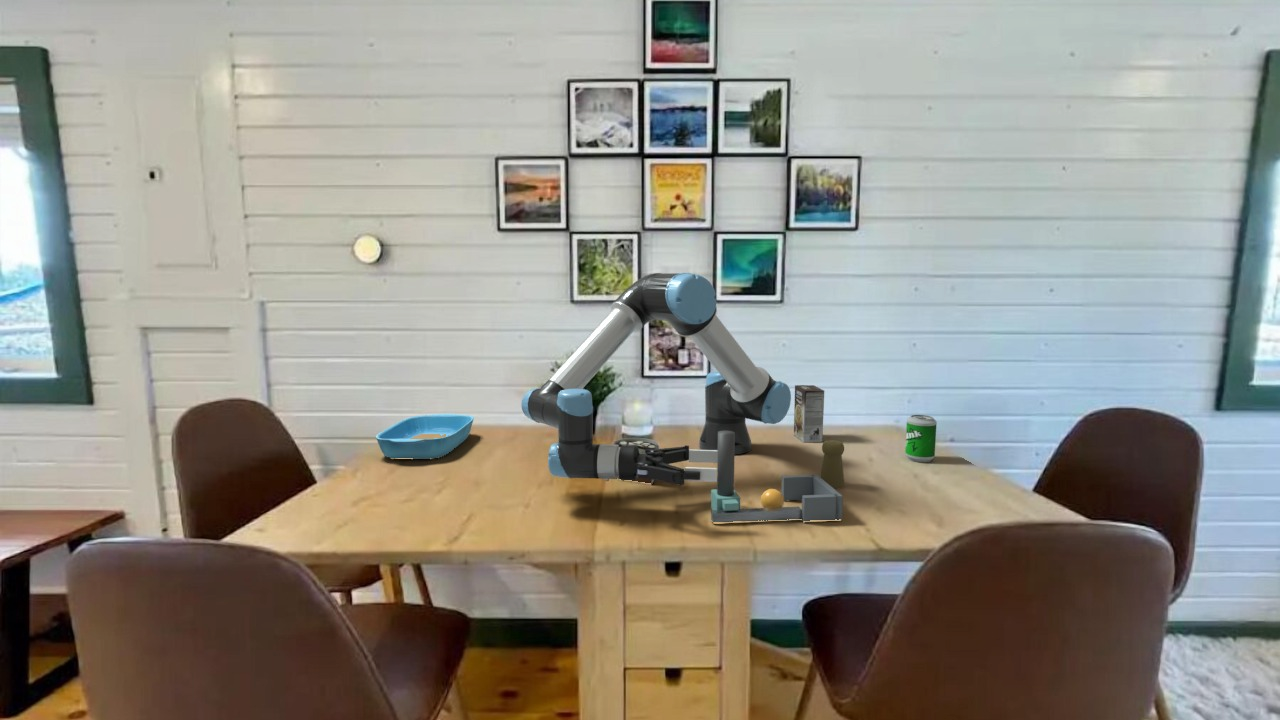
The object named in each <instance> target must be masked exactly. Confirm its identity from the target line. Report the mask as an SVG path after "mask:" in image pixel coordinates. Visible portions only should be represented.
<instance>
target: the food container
mask: <svg viewBox="0 0 1280 720" xmlns="http://www.w3.org/2000/svg"><path fill="white" fill-rule="evenodd" d="M612 445H619V447H621V446H622V445H636V446H637V447H638V449H639V453H640V454H645V450H646V449H660V446H659V444H658V442H657V441H656V440H654V439H650V438H642V437H627V438H620V439H616V440H614V442H613V444H612ZM618 479H620V477H618V478H617V480H618ZM632 481H638V482H645V483H651V484H653V483H654V484H655V480H653V479H648V478H638V477H637V479H636V480H632ZM654 484H653V485H654Z"/></svg>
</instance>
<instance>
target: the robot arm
mask: <svg viewBox="0 0 1280 720" xmlns="http://www.w3.org/2000/svg"><path fill="white" fill-rule="evenodd" d="M717 301H718V300H717V298H716V291H715V288H714V286H713V285H712V283H711V282H710V280H709V279H707V278H705V277H704V276H702V275H700V274H696V273H695V274H694V273H690V272H681V273H676V272H675V273H662V272H654V273H649V274H647V275H645V276H643V277H641V278H639V279H638V280H636V281H635V282H634V283H633V282H632V284H630V285H629V287H627V288H626V289H625V290H624V291H623V292H622V293H621V294H620V295H619V296H618V297H617V298H616V299H615V300H614V301H613V302H612V304H611V305H610V309H611V311H610V312H609V313H608V314H607V315H606V316H605V317H604V319H603V320H602V321H601V322H600V323H599V324H598V325H597V326H596V327H595V329H594V330H593V331H592V332H591V333H590V334H589V335H588V336H587V337H586V338H585V339H584V340H583V341H582V343H581V344H580V345H579V346H578V347H577V348H576V349H575V350H574V351H573V352H572V354H571V355H570V356H569V357H568V358H567V359H566V360H565V361H564V362H563V363H562V365H560V367H559V368H557V370H556V371H555V372H554V373H553V374H552V375H551V376H550V378H549V379H548V380H547V381H546V382H545V383H543V385H542V386H541V387H540V388H531V389H530V390H527V392H525V394H524V395H523V397H522V399H521V405H520V406H521V411H522V413H523V415H524V416H525V417H527V418H528V419H530V420H531V421H534V422H536V423H539V424H540V423H541V424H543V425H545V426H546V425H547V426H550V427H552V428H555V429H557V430H558V436H557V437H558V442H555V443H552V444H551V445H550V447H549V450H548V458H547V465H548V466H547V467H548V470H549V474H551V476H554V477H558V478H568V479H601V480H604V481H605V482H609V480H618V477H620V479H621V480H636V479H637V477H638V478H648V479H653V480H654V481H659V482H664V483H668V484H673V485H679V486H685V481H686V482H706V483H708V482H709V483H717V467H699V466H698V467H694V466H693V467H692V466H691V467H690V466H685V467H684V468H681V467H678V466H676V465H672V464H675V463H676V464H677V463H680V462H681V463H682V462H685V461H686V462H687V461H688V462H689V463H706V464H707V463H711V464H712V463H713V464H717V461H718V432H719V431H733V432H735V455H742V454H745V453H748V452H750V451H751V450H752V439H751V438H750V437H751V436H750V433H749V430H748V428H747V423H746V419H747V420H751V421H755V422H756V421H757V422H761V423H763V424H765V425H766V424H771V425H772V424H773V425H774V424H779V423H780V422H781V421H783V419H785V418H786V416H787V414H788V412H789V409H790V406H791V400H792V395H791V390H790V387H789V385H788V384H787V383H785V382H783V381H781V380H778V381H777V380H774V379H773V377H772V376H771V375H770V374H769V372H768V371H767V370H766V369H765V368H763V367H761V366H756V365H755V363H754V362H753V361H752V360H751V358H750V356H748V355H747V353H746V351H745V350H744V349H743V348H742V347H741V346H740V344H739V343H738V342H737V340H736V339H735V337H734V336H733V335H732V334H731V333H730V331H729V330H728V328H727V327H726V326H725V325H724V323H723V322H722V321H721V319H719V317H718V316H717V312H718V308H717ZM653 321H663V322H664V321H665V322H667V323H669V324H670V326H671V327H672V328H673V330H675V331H676V333H677V334H679V336H682V337H686V338H687V337H689V338H690V340H691V341H692V342H693V344H694V345H695V346H696V347H697V348H698V349H699V351H700V352H701V353H702V354H703V355H704V357H705V358H706V359H707V360H708V362H710V364H711V365H712V366H713V367H714V369H715V370H716V371H711V372H709V373H708V374H707V375H706V377H705V386H704V388H705V389H704V391H705V393H704V394H705V395H704V399H705V402H704V403H705V406H704V407H705V417H704V419H705V420H704V421H705V422H704V425H703V428H702V431H701V433H700V437H699V440H698V441H699V442H698V443H699V444H698V445H699V446H698V448H699V449H690V446H689V445H684V446H675V447H668V448H667V447H664V448H659V449H646V450H645V454H640V453H639V449H638V447H637V446H636V445H622V446H621V447H619V445H613V444H609V443H607V444H605V443H604V444H603V443H602V444H601V443H600V444H599V443H598V444H596V443H594V442H593V440H594V436H593V430H594V429H593V426H594V425H593V419H594V418H593V417H594V415H593V414H594V406H593V397H592V396H593V395H592V392H590V391H589V390H588V389H585V387H586V386H587V384H588V383H590V381H591V380H592V379H593V378H594V377H595V376H596V374H597V373H598V372H599V371H600V370H601V369H602V367H603V366H605V364H606V363H607V362H608V361H609V360H610V358H611V357H612V356H613V355H614V354H615V353H616V352H617V351H618V350H619V349H620V347H621V346H622V345H623V344H624V342H625V341H626V340H627V339H628V338H629V337H630V336H631V335H632V334H633V332H634V331H635V332H639V331H641V330H642V329H643V327H644V326H645V325H647V324H648V323H650V322H653Z"/></svg>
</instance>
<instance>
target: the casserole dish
mask: <svg viewBox="0 0 1280 720" xmlns="http://www.w3.org/2000/svg"><path fill="white" fill-rule="evenodd" d="M474 417H475V416H473V415H468V414H460V413H459V414H457V413H434V414H422V415H421V414H420V415H414V416H410V417H406V418H404V419H402V420H400V421H398V422H396V423H394V424H393V425H391V426H389V427H387V428H385V429H383V430H382V431H381V432H378V434H376V435H375V439H376V441H377V444H378V445H379V446H378V447H379V448H380V451H381V452H382V454H383V455H384V456H385V457H386V458H388V457H390V458H413V459H430V458H438V457H441V458H443V457H445V456H447V455H448V454H450V453H451V452H452V451H454V450H455V449H456V448H457V447H458V446H459V445H461V444H462V443H463V442H464V441H465V440H466V439H468V437H469V436H470V433H471V430H472V426H473V422H474V419H475V418H474ZM420 434H440V435H441V436H442V435H444V434H446V437H442V438H434V439H410V438H413V437H414V436H417V435H420ZM448 435H449V436H448ZM454 448H455V449H454ZM449 452H450V453H449ZM446 454H447V455H446ZM444 455H445V456H444ZM442 456H443V457H442ZM413 459H412V460H413ZM438 459H439V458H438ZM430 460H431V459H430Z"/></svg>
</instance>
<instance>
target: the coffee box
mask: <svg viewBox="0 0 1280 720" xmlns="http://www.w3.org/2000/svg"><path fill="white" fill-rule="evenodd" d="M793 409H794V414H793V415H794V416H793V417H794V418H793V436H794V435H795V436H794V437H796V438H797V437H798V438H799V440H800V441H801V442H802V441H803V442H802V443H822V442H823V434H824V433H823V431H824V430H823V429H824V410H825V390H824V389H821V388H820V387H818V386H816V385H810V384H809V385H805V384H800V385H799V384H797V385H796V384H795V385H794V408H793ZM798 438H797V439H798Z"/></svg>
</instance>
